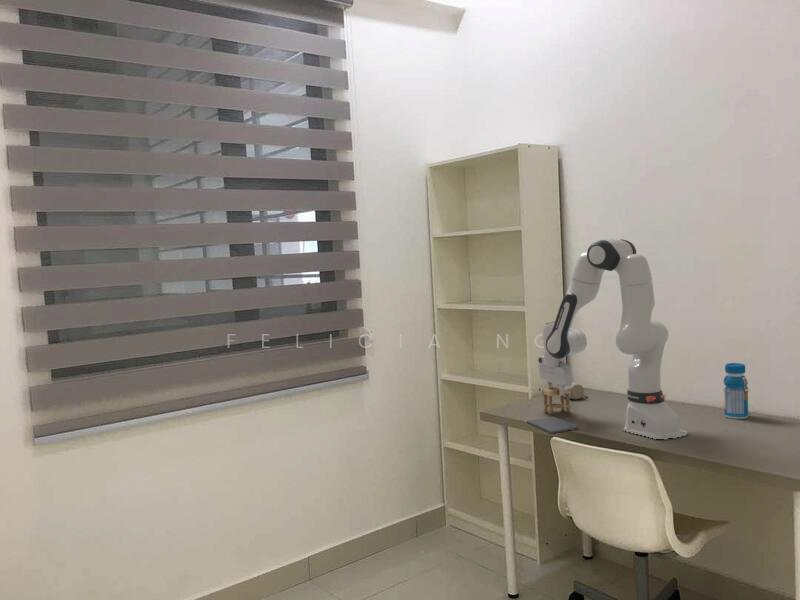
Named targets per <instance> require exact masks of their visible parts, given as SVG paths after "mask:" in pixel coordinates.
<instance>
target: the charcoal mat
mask: <svg viewBox="0 0 800 600" xmlns="http://www.w3.org/2000/svg"><path fill="white" fill-rule="evenodd" d="M526 423H527V424H529V425H530V426H533V427H535V428H537V429H540V430H542V431H544V432H546V433H549V434H551V435H552V434H557V433H558V434H559V433H564V432H569V431H568V430H571V431H573V430H572V429H577V430H579V429H580V426H578V425H576V424H572V423H570V422H567V421H565V420H563V419H560V418H558V417H556V416H548V417H541V418H536V419H535V418H534V419H529V420H526ZM578 428H579V429H578Z"/></svg>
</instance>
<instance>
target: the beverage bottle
mask: <svg viewBox="0 0 800 600" xmlns="http://www.w3.org/2000/svg"><path fill="white" fill-rule="evenodd" d="M724 365H725V366H724V372H725V373H726V375H725V377H724V378H723V384H724V385H723V386H722V387H723V389H722V390H723V402H724V405H723V406H724V407H723V409H724V417H726V418H727V419H728V418H729V419H735V420H743V419H744V420H745V419H747V418H748V417H749V415H750V413H749V388H748V385H749V384H748V383H749V382H748V379H747V377H746V376H745V374H746V365H745V364H744V363H740V362H731V363H730V362H729V363H726V364H724Z"/></svg>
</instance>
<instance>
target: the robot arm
mask: <svg viewBox="0 0 800 600" xmlns="http://www.w3.org/2000/svg"><path fill="white" fill-rule="evenodd" d="M636 249H637V248H636V247H635V245H634V243H632V242H631V241H629V240H626V239H621V238H620V239H615V238H608V239H599V240H596V241H594V242H593V243H592V244H591V245H589V246H588V248H587V251H584V252H581V253H580V254H579V255H578V257H577V260H576V262H575V265H574V267H573V269H572V270H573V271H572V274H571V279H570V282H569V285H568V288H567V290H566V292H565V295H564V296H563V298H562V300H561V303H560V306H559V309H558V311H557V314H556V317H555V321H551V322H550V321H549V322H545V324H544V325H543V327H542V344H543V354H542V356H540V357H537V363H538V375H539V378H540V380H542V381H545V382H546V385H547V388H554V385H553V384H555V385H558V387H560V389H559V391H558V396H560V395H561V396H562V395H564V390H565V387H566V386H571V385H572V383H573V382H574V381H573V374H572V369H571V368H570V366H569V365H568V363H567V362H566V361H567V360H566V357H568V356H573V355H576V354H578V353H579V354H580V353H582V352H583V351H585V349H586V347H587V344H588V343H587V342H588V341H587V337H586V335H585V333H583V331H581V330H579V329H575V328H572V323H573V322H574V321H573V320H574V319H575V315H576V314H577V313H578V312H579V311H580V309H581V308H583V307H584V306H586V305H588V304H589V303H592V301H593V300H595V299H596V297H597V296H598V293H599V291H600V286H601V282H602V278H603V274H604V272H605V271H608V272H612V271H616V273H617V274H618V278H619V287H620V296H621V307H622V308H621V309H622V311H621V319H620V326H619V329H618V332H617V334H616V335H615V344H616V347H617V349H618V350H619V351H620V352H621V353H623V354H626V355H631V356H632V357H631V360H630V363H629V365H628V367H627V380H628V381H627V384H628V388H627V392H626V396H627V400H628V404H627V407H626V409H625V410H626V411H625V412H626V413H625V425H624V427H623V430H624V431H623V432H625V431H626V432H625V433H629V432H630V433H629V434H633V433H634V435H636V434H638V435H637V436H640V435H642V436H641V437H644V436H646V437H645V438H648V437H649V438H648V439H652V438H653V439H652V440H656V439H664V440H669V439H668V438H673V439H678V438H677V437H679V438H683V437H686V436H687V435H688V431H687V430H685V429H683V428H681V425H680V419H679V416H678V415H677V412H674V411H673V410H672V408H671V407H670V406H669V405H668V404H667V402H666V399H667V394H664V393H663V390H662V388H661V365H662V361H663V360H662V359H663V354H664V349H665V345H666V343H667V341H668V339H669V331H668V329H667V326H666V325H665V324H664V323H662V322H660V321H656V320H652V313H653V309H654V308H655V304H656V303H655V302H656V301H655V294H654V287H653V278H652V272H651V269H650V265H649V263H648V259H647V258H646V257H645V256H644V255H641V254H639V253H637V250H636ZM561 396H560V397H561ZM682 436H683V437H682Z"/></svg>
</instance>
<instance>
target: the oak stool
mask: <svg viewBox="0 0 800 600" xmlns="http://www.w3.org/2000/svg"><path fill="white" fill-rule="evenodd" d="M559 389H560V387H559V386H555V387H554V386H553V388H548V387H546V388H542V389H541V395H543V410H544V411H543V413H544V414H549V416H550V415H551V416H550V417H553V416H554V412H553V411H554V410H555V409H560V411H561V412H562V411H563V412H566V413H567V414H570V413H571V406H570V398H569V394H571V389H570V388H567V387H565V390H564V395H565V394H566V397H565V396H564V395H562V396H561V395H558V391H559ZM556 396H559V397H560V402H555V403H553V397H556ZM548 412H549V413H548Z"/></svg>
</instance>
